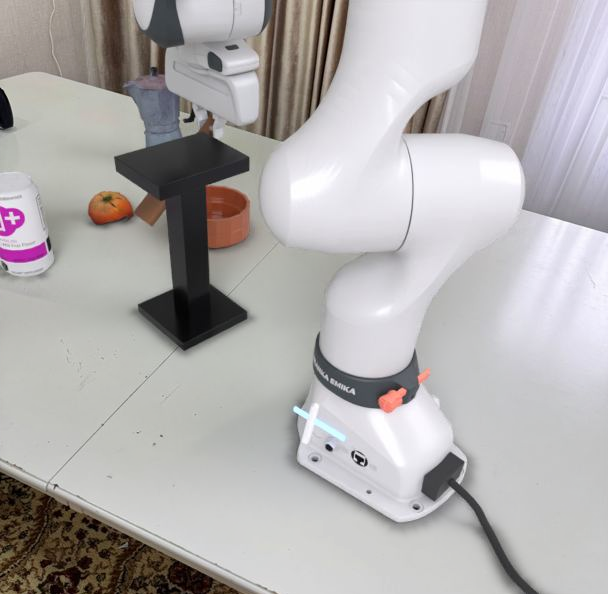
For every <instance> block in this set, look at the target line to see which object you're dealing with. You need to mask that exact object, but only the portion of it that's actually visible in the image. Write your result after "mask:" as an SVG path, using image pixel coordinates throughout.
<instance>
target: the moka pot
mask: <svg viewBox="0 0 608 594" xmlns="http://www.w3.org/2000/svg"><path fill="white" fill-rule="evenodd" d="M149 70H150V74H148V75H141V76H138V77H136V78H135V79H132V80H129V81H126V82H125V83H124V84H123V86H122V88H123V89H125V90H126V92H127V93H128V94H129V96H130V97H131V99H132V101H133V102H134V104H135V105H136V107H137V109H138V112H139V116H140V117H139V118H140V119H141V120H142V122H143V126H144V131H143V133H144V137H145V148H146V147H150V146H154V145H157V144H161V143H164V142H168V141H171V140H175V139H179V138H182V137H183V134H182V131H181V128H180V122H181V119H180V117H181V116H180V115H181V96H179V95H177V94H175V93H173V92H171V91H169V90H168V87H167V85H166V82H165V74H161V73H160V74H158V67H157V66H151V67H149ZM195 119H196V116H195V113H194V111H193V108H192V107H191V111H190V114H189V117H187V118H183V119H182V122H183V123H184V124H188V123H190V124H191V123H194V122H195Z"/></svg>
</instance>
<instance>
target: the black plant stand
mask: <svg viewBox="0 0 608 594" xmlns="http://www.w3.org/2000/svg"><path fill="white" fill-rule="evenodd" d="M113 160H114V161H113V162H114V167H115V168H114V169H115V172H116V173H118V174H120V175H121V176H122V177H124V178H125V179H127V180H128V181H130V182H131V183H132V184H134V185H135V186H137V187H138V188H140V189H141V190H142V191H145V192H146V193H147V194H148V193H149V194H150V195H152V196H153V197H155V198H156V199H158V200H159V201H163V200H165V206H166V209H165V215H166V217H165V218H166V227H167V238H168V240H167V241H168V249H169V260H170V272H171V284H172V289H169V290H167V291H165V292H163V293H161V294H158V295H156V296H154V297H151V298H149V299H146V300H145V301H142V302H140V303H138V304H137V310H138V313H139V314H140V315H141V316H143V317H144V318H145V319H146V320H147V321H148V322H150V323H151V324H152V325H153V326H154V327H156V328H157V329H158V330H159V331H160V332H161V333H162V334H164V335H165V336H166V337H167V338H168V339H170V341H172V342H173V343H174V344H175V345H176V346H178V347H179V348H180V349H181V350H182V351H183V352H185V351H188V350H190V349H192V348H194V347H195V346H197V345H199V344H202V343H203V342H205V341H207V340H209V339H211V338H213V337H215V336H217V335H219V334H221V333H223V332H225V331H227V330H229V329H231V328H232V327H235V326H236V325H238V324H240V323H242V322H244V321H247V320H248V311H247V310H246V309H245V308H243V307H242V306H241V305H239V304H238V303H236V302H235V301H234V300H233V299H231V298H230V297H228V296H227V295H226V294H224V293H223V292H222V291H220V290H219V289H218V288H216V287H215V286H214V285H212V283H210V282H211V281H210V279H211V278H210V255H209V254H210V253H209V247H208V227H207V203H206V186H207V185H214V184H216V183H219V182H221V181H224V180H227V179H231V178H233V177H236V176H239V175H242V174H245V173H248V172H250V165H251V163H250V156H249V155H247V154H245V153H243V152H242V151H240V150H238V149H237V148H235V147H233V146H231V145H228V143H225V142H223V141H222V140H221V139H220V140H219V139H216V138H214V137H212V136H210V135H209V134H207V133H205V132H200V133H198V132H196V133H193V134H189V135H186V136H182V138H179V139H175V140H171V141H168V142H164V143H161V144H157V145H154V146H150V147H146V146H145V147H144V148H140V149H136V150H132V151H129V152H126V153H121V154H119V155H114V156H113Z"/></svg>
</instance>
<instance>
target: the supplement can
mask: <svg viewBox="0 0 608 594" xmlns="http://www.w3.org/2000/svg"><path fill="white" fill-rule="evenodd" d="M54 262H55V255H54V251H53V246H52V242H51V238H50V233H49V229H48V224H47V220H46V217H45V211H44V207H43V202H42V198H41V194H40V191H39V186H38V185H37V184H36V183H35V182H34V181H33V180H32V177H31V176H30V175H29V174H26V173H24V172H20V171H19V172H18V171H3V172H0V266H1V268H2V269H3V270H4V272H6V273H8V274H9V275H12V276H14V277H19V278H30V277H34V276H35V277H36V276H38V275H41V274H43V273H45V272H46V271H47V270H49V269H50V268H51V266H52V265H53V264H54Z"/></svg>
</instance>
